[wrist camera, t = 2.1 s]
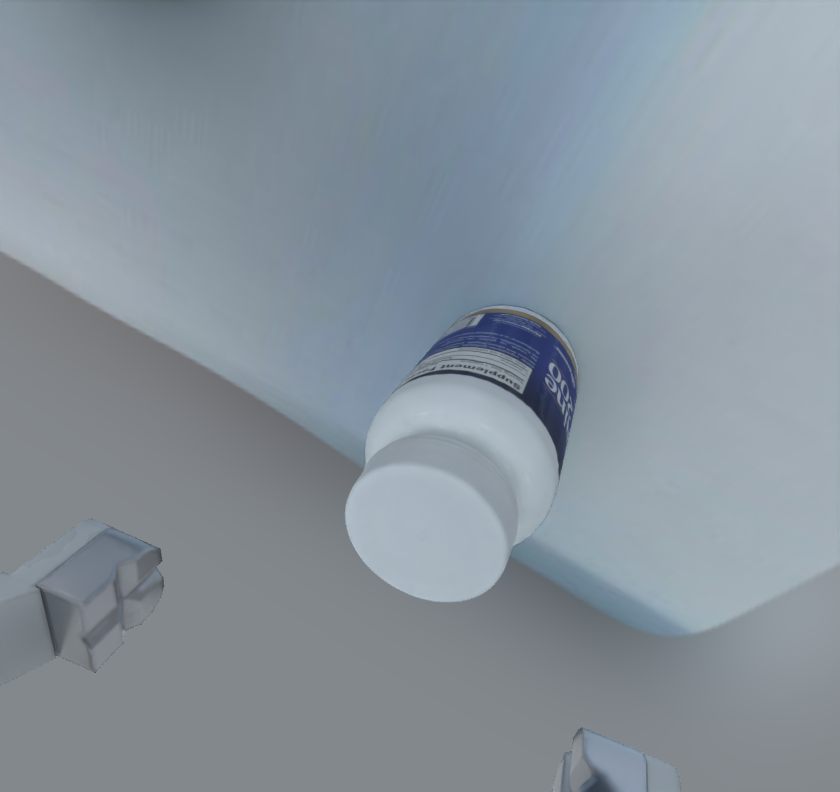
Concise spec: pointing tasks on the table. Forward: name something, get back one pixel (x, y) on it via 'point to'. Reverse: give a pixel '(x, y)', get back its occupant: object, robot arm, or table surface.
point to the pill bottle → (465, 455)
